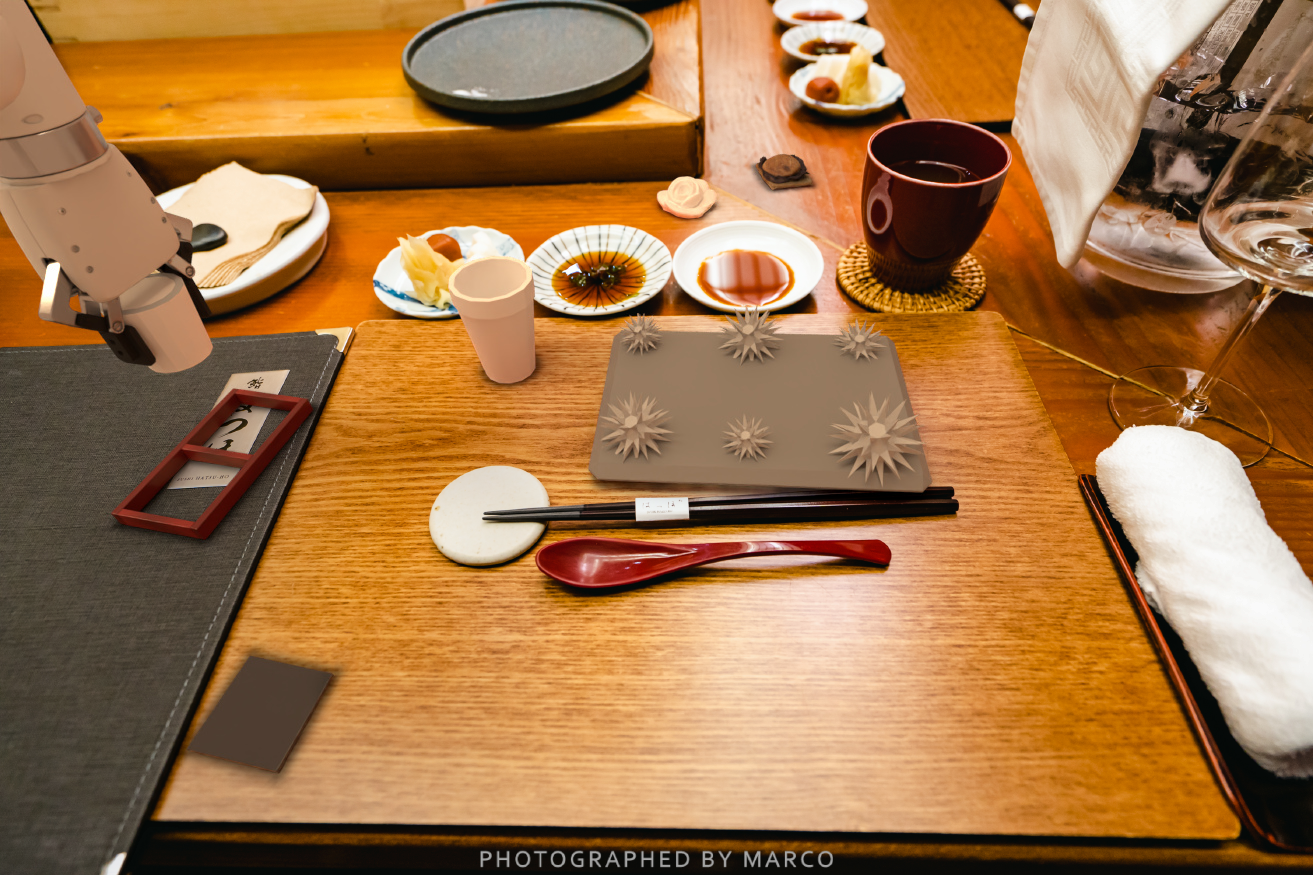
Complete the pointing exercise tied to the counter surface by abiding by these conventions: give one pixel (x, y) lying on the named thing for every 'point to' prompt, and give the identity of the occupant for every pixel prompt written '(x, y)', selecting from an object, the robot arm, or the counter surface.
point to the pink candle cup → (166, 322)
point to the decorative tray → (758, 409)
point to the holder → (193, 450)
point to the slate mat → (261, 714)
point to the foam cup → (498, 314)
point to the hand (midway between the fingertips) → (169, 336)
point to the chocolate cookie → (783, 171)
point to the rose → (687, 197)
